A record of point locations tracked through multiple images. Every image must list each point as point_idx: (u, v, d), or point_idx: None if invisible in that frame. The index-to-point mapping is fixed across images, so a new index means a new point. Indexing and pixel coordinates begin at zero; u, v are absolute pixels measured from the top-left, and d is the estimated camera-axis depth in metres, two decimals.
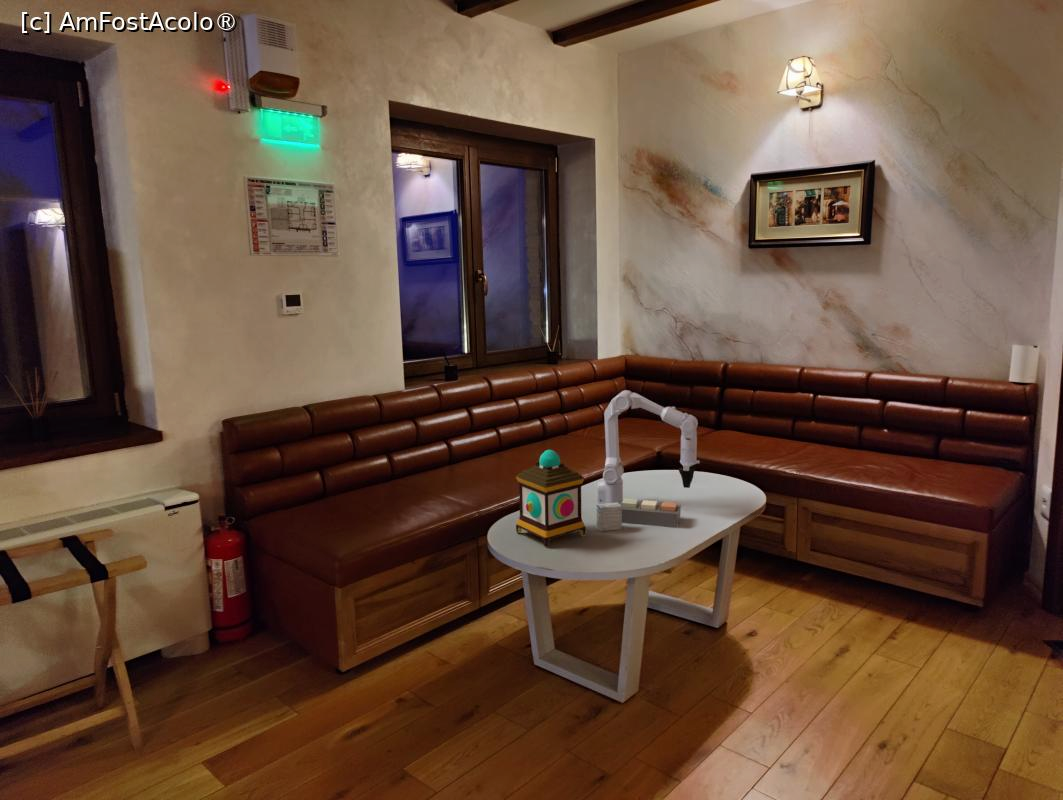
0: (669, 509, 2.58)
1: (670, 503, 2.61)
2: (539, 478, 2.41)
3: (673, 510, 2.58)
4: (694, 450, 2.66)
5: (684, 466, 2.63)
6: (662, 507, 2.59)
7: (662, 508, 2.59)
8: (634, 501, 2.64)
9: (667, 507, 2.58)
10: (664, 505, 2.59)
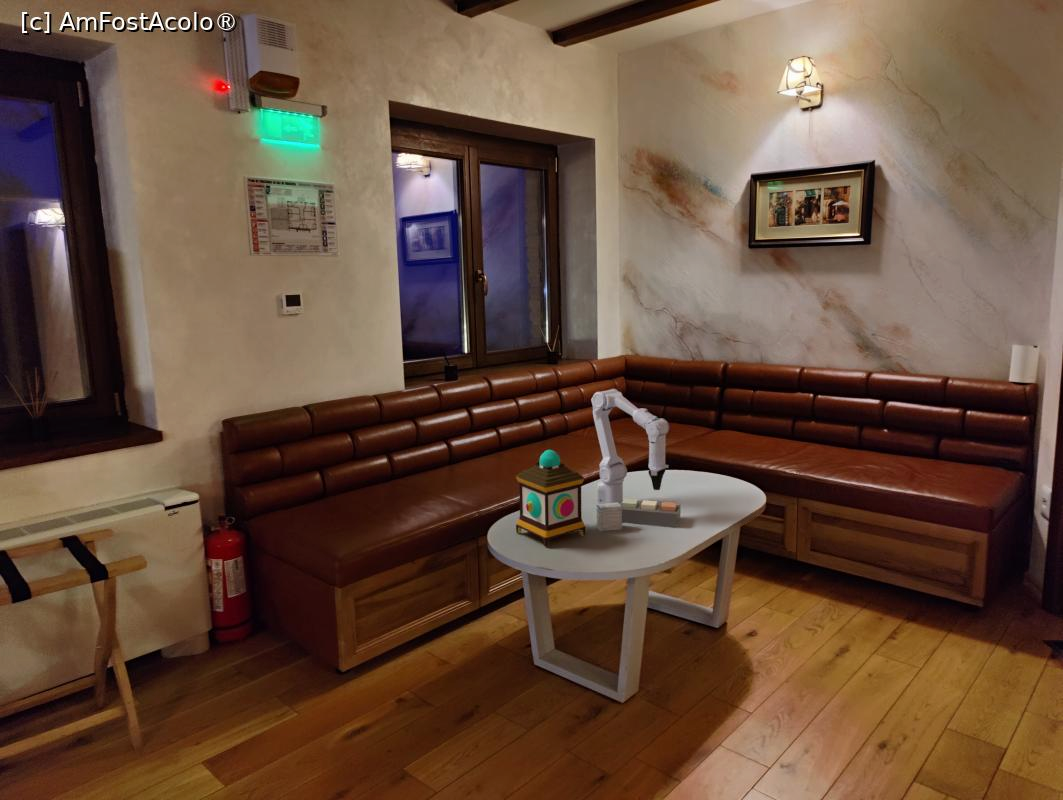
0: (669, 509, 2.58)
1: (670, 503, 2.61)
2: (539, 478, 2.41)
3: (673, 510, 2.58)
4: (662, 454, 2.60)
5: (652, 471, 2.57)
6: (662, 507, 2.59)
7: (662, 508, 2.59)
8: (634, 501, 2.64)
9: (667, 507, 2.58)
10: (664, 505, 2.59)
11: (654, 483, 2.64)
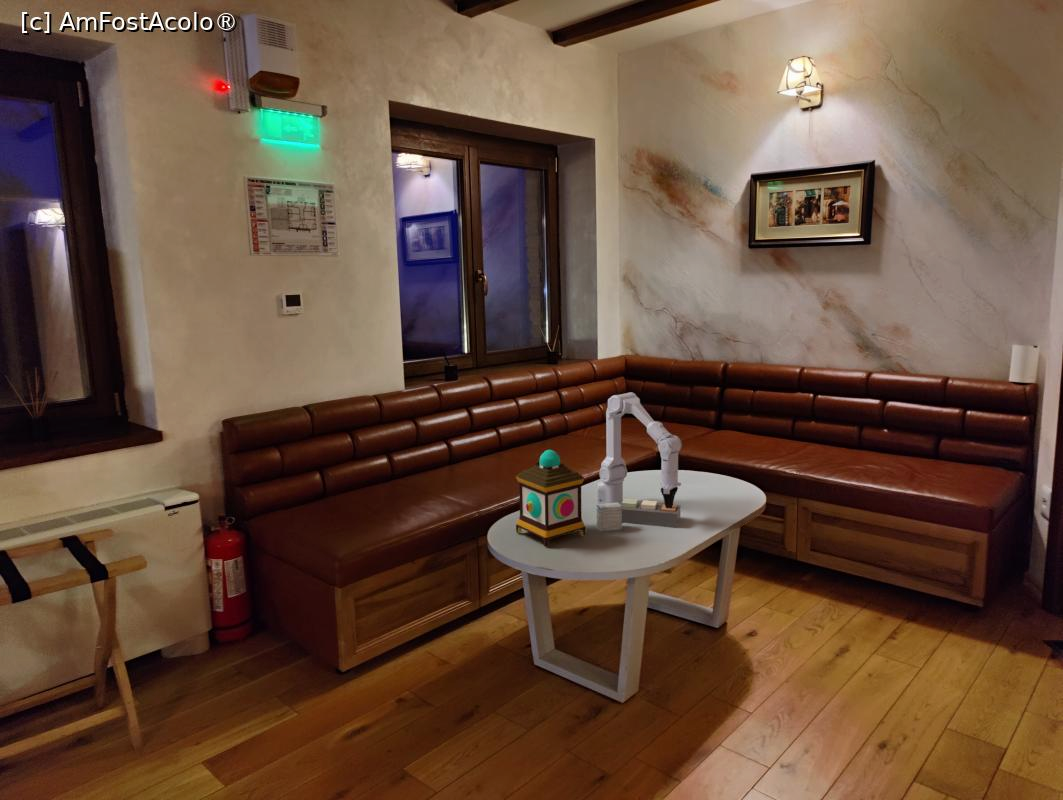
0: None
1: None
2: (539, 478, 2.41)
3: None
4: (675, 472, 2.56)
5: (664, 489, 2.52)
6: (662, 510, 2.59)
7: None
8: (634, 501, 2.64)
9: (667, 510, 2.58)
10: (664, 508, 2.60)
11: (666, 501, 2.59)
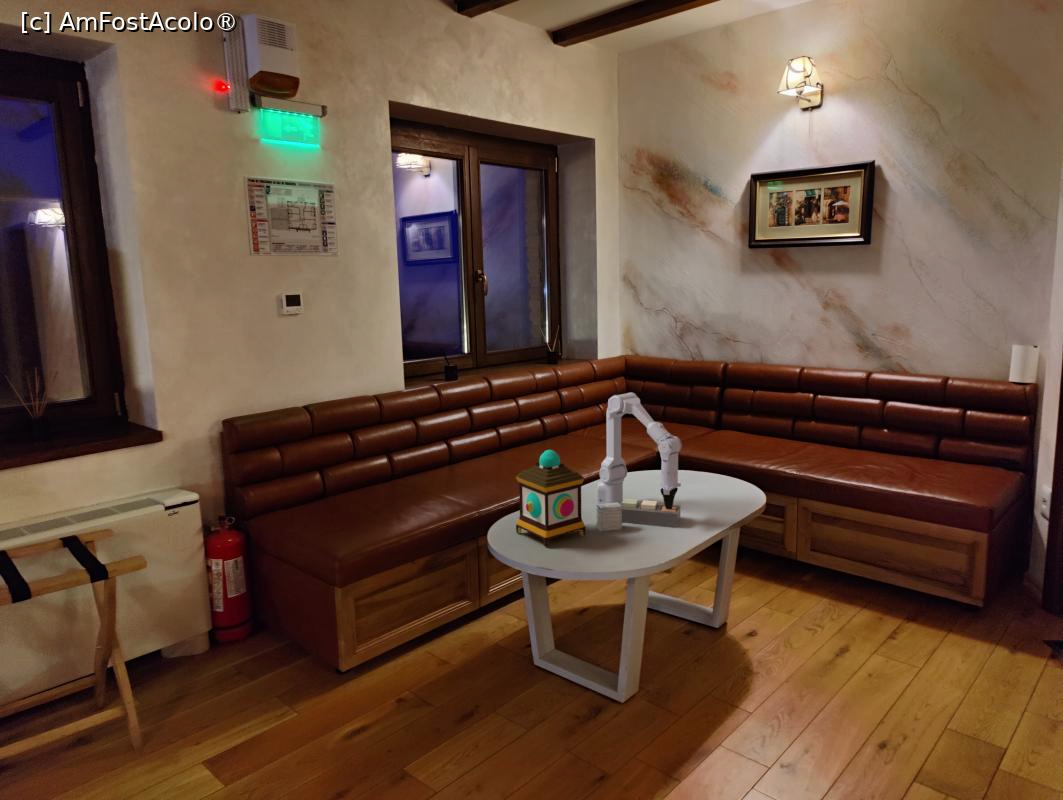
0: None
1: None
2: (539, 478, 2.41)
3: None
4: (675, 473, 2.56)
5: (664, 490, 2.52)
6: None
7: None
8: (634, 501, 2.64)
9: None
10: (664, 510, 2.60)
11: (666, 502, 2.60)
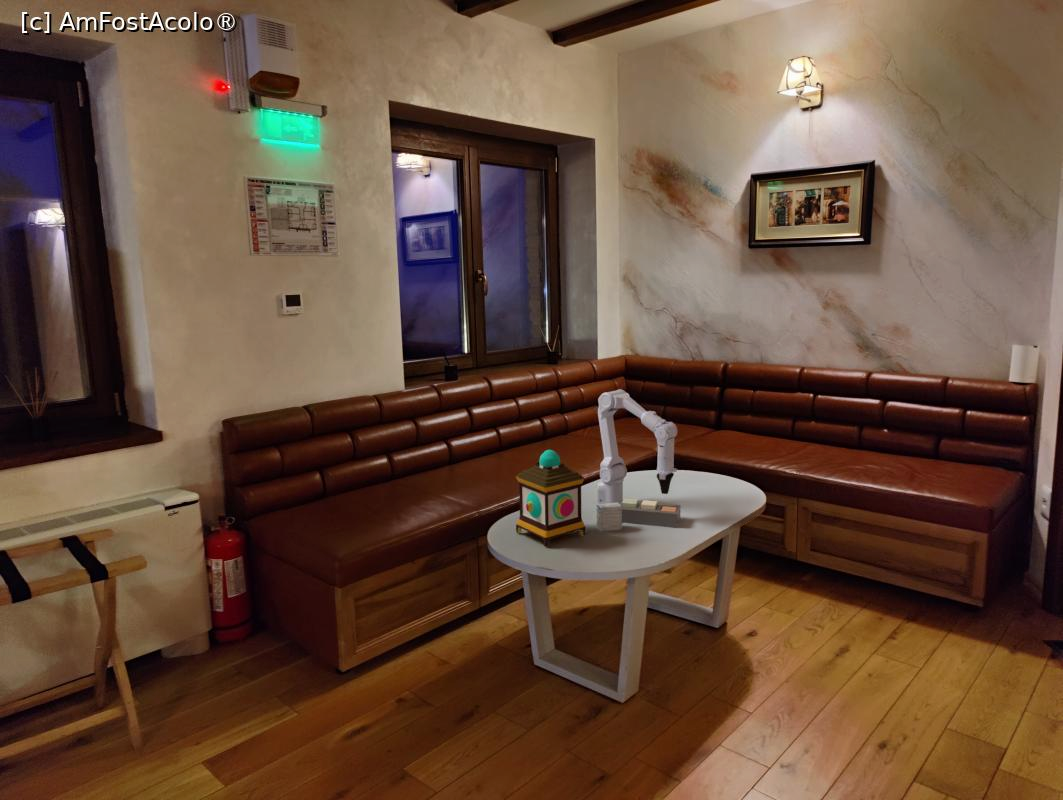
0: None
1: (670, 508, 2.61)
2: (539, 478, 2.41)
3: None
4: (671, 458, 2.59)
5: (660, 475, 2.55)
6: None
7: None
8: (634, 501, 2.64)
9: None
10: (664, 510, 2.60)
11: (662, 487, 2.63)
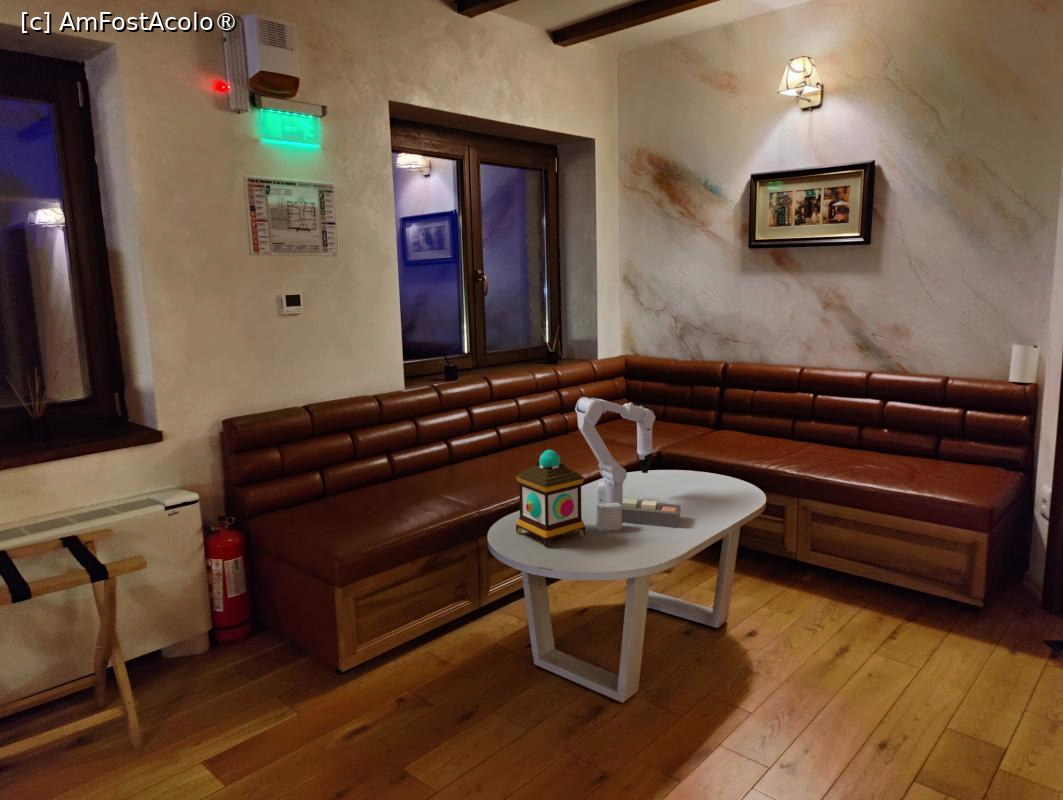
0: None
1: (670, 508, 2.61)
2: (539, 478, 2.41)
3: None
4: (649, 440, 2.81)
5: (640, 455, 2.78)
6: None
7: None
8: (634, 501, 2.64)
9: None
10: (664, 510, 2.60)
11: (642, 467, 2.85)
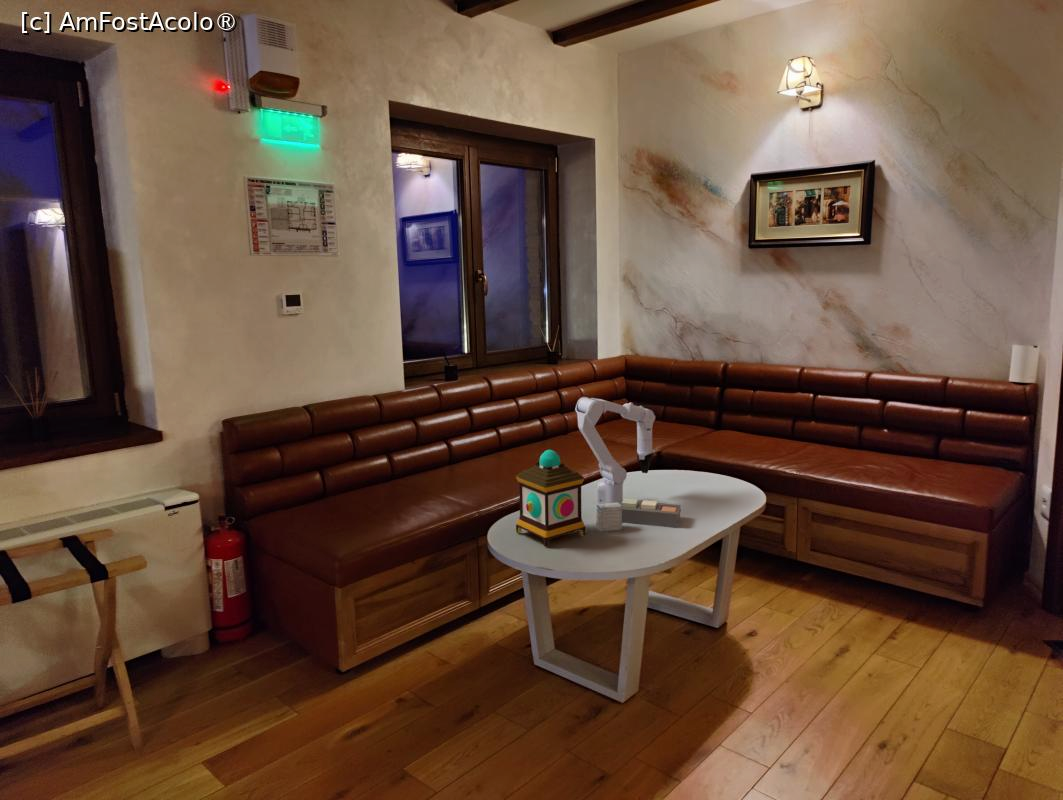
0: None
1: (670, 508, 2.61)
2: (539, 478, 2.41)
3: None
4: (649, 440, 2.81)
5: (640, 455, 2.78)
6: None
7: None
8: (634, 501, 2.64)
9: None
10: (664, 510, 2.60)
11: (642, 467, 2.85)
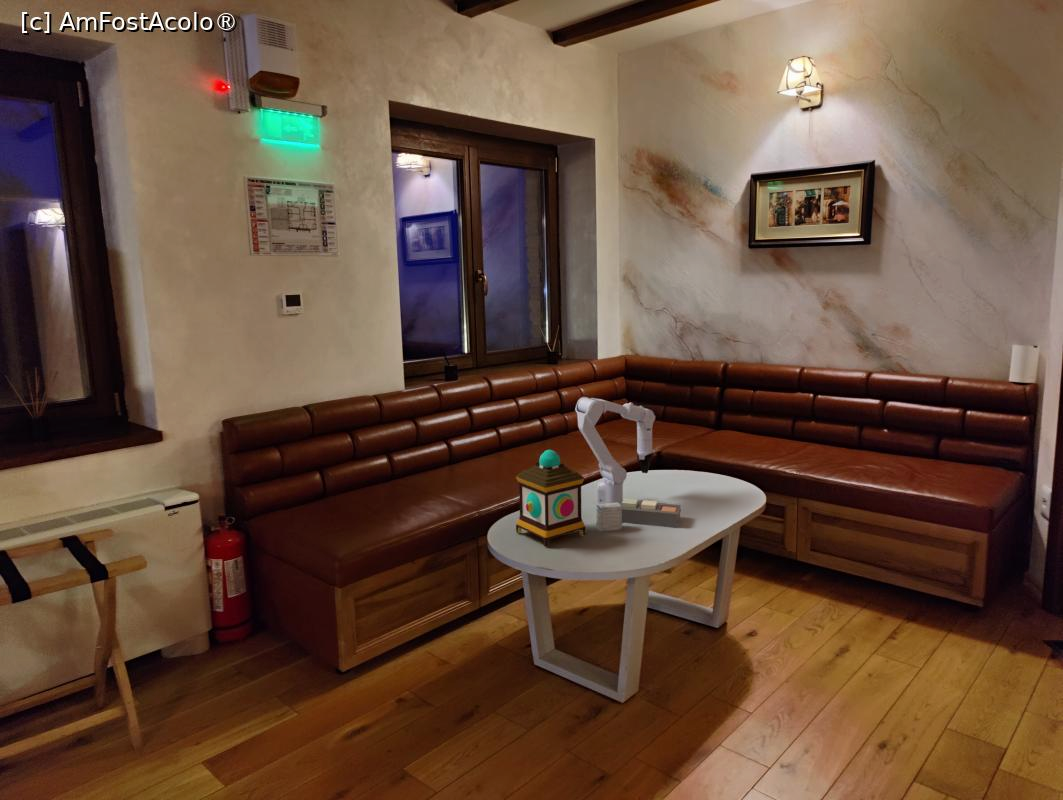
0: None
1: (670, 508, 2.61)
2: (539, 478, 2.41)
3: None
4: (649, 440, 2.81)
5: (640, 455, 2.78)
6: None
7: None
8: (634, 501, 2.64)
9: None
10: (664, 510, 2.60)
11: (642, 467, 2.85)
